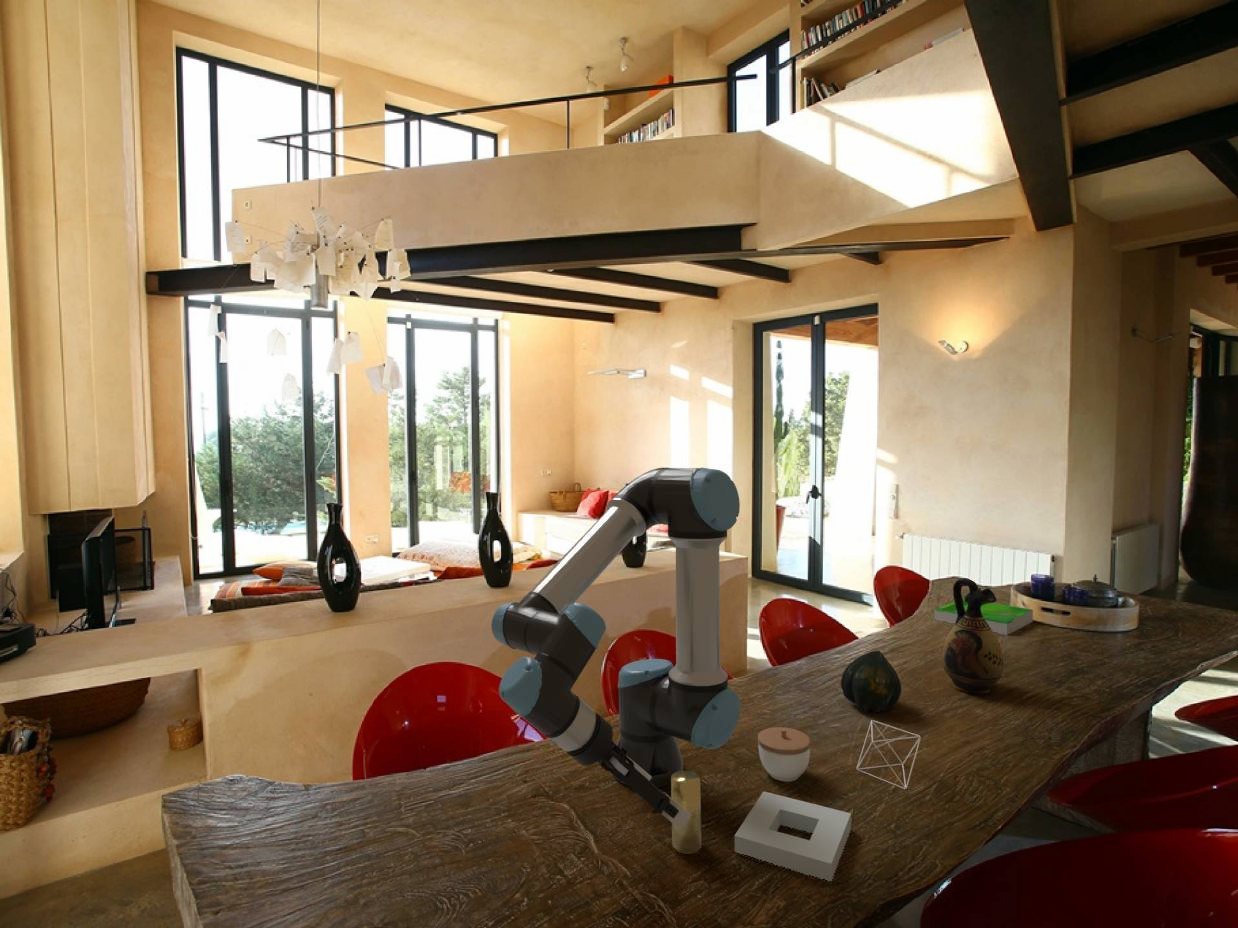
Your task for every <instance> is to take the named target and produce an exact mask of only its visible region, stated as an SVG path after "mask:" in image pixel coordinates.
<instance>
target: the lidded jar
mask: <svg viewBox="0 0 1238 928" xmlns="http://www.w3.org/2000/svg"><path fill="white" fill-rule="evenodd" d="M757 742H758V743H757V745H758V746H757V747H758V755H759V759H760V762H761V765H762V767H763V768H764V769H765V770H766V772H767V773H768V774H769V776H770V777H771V778H773V779H774V780H777V781H781V782H795V781H796V780H798V779H799V778H800V777H801V776H802V775H803V774H804V773H805V771H806V770H807V769H808V766H809V762H810V756H811V738H810V737H809V736H808V735H807V734H806V733H804V732H802V731H800V730H798V729H795V728H790V727H784V726H783V727H781V726H777V727H774V726H773V727H769V728H765V729H763V730H761V731H760V732H759V733H758V734H757Z"/></svg>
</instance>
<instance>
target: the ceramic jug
mask: <svg viewBox="0 0 1238 928" xmlns="http://www.w3.org/2000/svg"><path fill="white" fill-rule="evenodd" d="M963 587H968V589H969V592H968V594H966V595H965V597H964V599H965V602H967V603H968V607H967V610H966V612H965V608H964V605H963V595H962V588H963ZM952 590H953V594H952V596H953V600H954V601H953V602H955V606H956V610H957V615H958V617H957V619H956V622H955V625H953V627H952V628H951V630H950V631H949V633H948V634H947V636H946V637H945V640H944V643H943V645H942V649H941V666H942V667H943V670H944V671H945V673H946V674H947V675H948V677H949V678H950V679H951V684H952V686H953V687H954V689H956V690H959V691H961V692H963V693H965V694H969V695H971V694H973V695H978V694H982V695H988V693H990V692H991V688H992V687H993V686H994V685H996V683H997V682H999V680H1000V679H1001V678H1002V675H1003V673H1004V669H1005V660H1004V655H1003V651H1002V647H1001V644H1000V642H999V640H998V638H997V637H996V636H997V635H996V634H995V633H993V631H992V629H991V628H990V626H989V624H988V623H987V622H986V620H985V619H984V617H983V615H982V613H981V606H982V605H985V604H988V603H996V602H997V600H998V599H997V597H996V595H995V593H994V592H993V591H992V589H990V588H989V587H987V588H985V589H981V588H979V586H978V584H977V582H975V581H974V580H972V579H970V578H967V577H962V578H959V579H957V580H955V583H954V584H953V586H952Z"/></svg>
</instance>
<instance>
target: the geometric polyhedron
mask: <svg viewBox="0 0 1238 928" xmlns="http://www.w3.org/2000/svg"><path fill="white" fill-rule="evenodd" d="M876 724H880V725H884V726H885V727H889V728H892V729H896V730H899V731H901V732H904V733H908V734H911V735H914V736H907V737H898V738H890V739H889V738H886V737H885V736H884V734H883V733H882V732H881V730H880V728H879V727H878V726H877V725H876ZM873 725H874V726H875V728H876V729H877V731H878V732H879V733H880V735H881V736H882V738H883V739H880V740H879V739H878V740H874V730H873V729H874V728H873ZM870 729H871V742H870V744H869V746H868V747H867V749H866V751H865V753H864V754H863V752H864V749H865V746H866V742H867V739H868V735H869V732H870ZM907 739H917V740H916V742H915V743H914V745H913V746H912V748H911V749H910V751H909V752H908V754H907V755H906V757H905V759H904V760H903V762H902V760H901V758H900V757H899V756H898V754H897V753H896V751H895V750H894V748H893V747H892V746H891V745H890V743H889V741H897V740H907ZM921 739H922V737H921V736H920V735H919V734H916V733H912V732H910V731H906V730H904V729H901V728H899V727H895V726H891V725H889V724H886V723H883V722H881V721H877V720H873V719H871V720H870V722H869V725H868V729H867V733H866V735H865V739H864V742H863V746H862V749H861V751H860V752H861V753H860V755H859V758H858V761H857V765H856V771H859V772H861V773H864V774H866V775H868V776H870V777H874V778H877V779H878V780H881V781H884V782H886V783H889V784H890V785H894V786H897V787H898V788H901V789H904V790H907V789H908V786H909V782H910V778H911V775H912V773H913V772H912V771H913V768H914V764H915V761H916V757H917V753H918V749H919V746H920V744H921V743H920V742H921ZM877 742H878V743H879V742H886V744H888V747H889V748H890V749H891V750H892V752H893V753H894V755H895V756H896V758H897V759H898V760H899V762H900V763H893V764H890V763H889V761H888V760H887V759H886V757H884V754H883V753H882V752H881V750H880V749H879V747H878V746H877V745H876V744H875V743H877ZM872 745H873V746H874V747H875V749H877V751H878V753H879V755H880V756H881V757H882V759H884V762H886V765H877V766H867V767H861V768H860V766H861V765H862V762H863V761H864V759H865V757H866V756H867V754H868V752H869V750H870V748H871V747H872ZM915 747H916V749H915ZM914 749H915V753H914V757H913V759H912V763H911V767H910V771H909V775H908V778H907V779H906V773H905V765H904V764H905V763H906V761H907V759H908V758H909V756H910V755H911V754H912V752H913V750H914ZM862 755H863V756H862ZM894 766H902V773H903V782H904V783H903V782H902V780H901V779H900V777H899V776H898V775H897V773H896V771H895V770H894V769H893V767H894ZM885 767H889V768H890V769H891V771H892V772H893V773H894V775H895V777H896V778H897V780H898V781H899V783H900V784H901V785H902V786H900V785H898V784H895V783H893V782H891V781H888V780H886V779H883V778H882V777H879V776H875V775H873V774H872V773H868V772H866V771H863V770H866V769H867V770H868V769H874V768H885Z"/></svg>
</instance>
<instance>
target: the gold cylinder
mask: <svg viewBox="0 0 1238 928" xmlns="http://www.w3.org/2000/svg"><path fill="white" fill-rule="evenodd" d="M670 785H671V786H670V787H671V788H670V789H671V790H670V792H671V795H670V796H671V798H672V799H673V800H674V801H675V802H676V803H678V804H679V805H680V806H681V807H682V808H684V809H685V810H686V811H687V812H688V813H690V814H691V815H692V816H691V817H690V819H689V820H688V822H687V823H686V824H685V826H684V827H683V829H682V830H681V829H679V828H678V827H677V826H676V825H674V824H673V823H672V822H671V839H672V840H671V841H672V842H671V844H672V845H673V846H672V845H671V846H672V848H673V847H674V848H675V849H676V850H678V851H679V852H683V853H693V852H697V851H698V850H699V849H700V848H701V849H702V815H701V814H702V810H701V809H702V804H701V799H702V798H701V777H700V774H698V773H696V772H695V771H691V770H683V771H678V772H675V773H674V774H673V775H672V776H671V784H670ZM697 853H698V852H697Z"/></svg>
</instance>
